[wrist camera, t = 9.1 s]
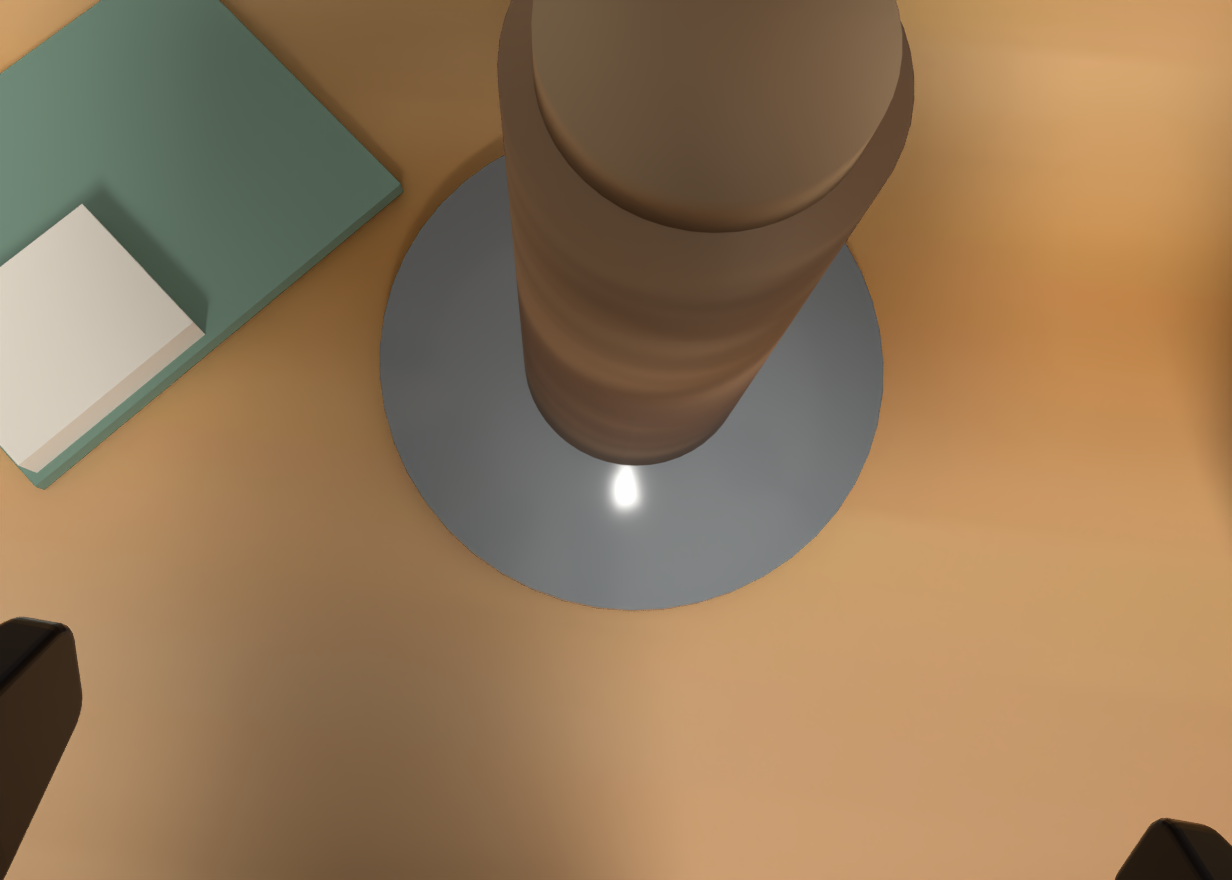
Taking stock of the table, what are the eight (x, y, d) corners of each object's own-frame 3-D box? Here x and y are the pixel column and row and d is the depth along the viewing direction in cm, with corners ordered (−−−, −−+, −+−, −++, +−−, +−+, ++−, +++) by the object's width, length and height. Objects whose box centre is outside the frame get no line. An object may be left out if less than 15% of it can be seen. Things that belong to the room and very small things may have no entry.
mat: (44, 489, 22) (16, 479, 21) (-189, 228, 23) (-229, 204, 22) (403, 191, 24) (395, 166, 23) (175, -39, 25) (157, -74, 24)
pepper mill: (575, 499, 22) (598, 303, 11) (491, 299, 23) (427, -87, 11) (779, 416, 23) (1015, 145, 11) (690, 224, 24) (823, -214, 12)
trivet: (629, 722, 22) (631, 723, 21) (279, 351, 23) (271, 343, 23) (973, 372, 24) (983, 364, 24) (636, 50, 25) (638, 36, 25)
